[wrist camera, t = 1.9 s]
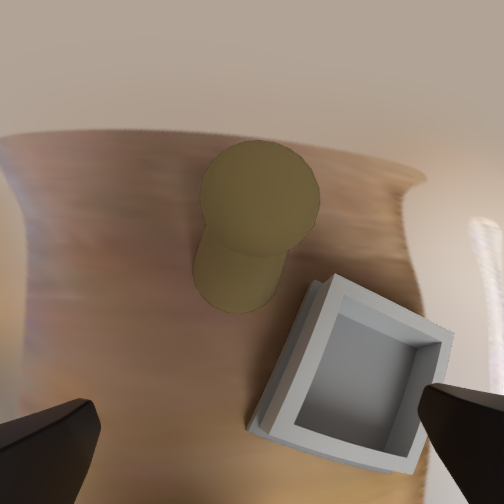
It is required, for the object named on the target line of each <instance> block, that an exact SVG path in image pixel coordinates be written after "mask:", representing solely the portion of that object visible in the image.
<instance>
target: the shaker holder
mask: <svg viewBox="0 0 504 504" xmlns="http://www.w3.org/2000/svg"><path fill="white" fill-rule="evenodd" d="M453 337H454V333H453V332H451V331H449V330H447V329H445V328H443V327H441V326H439V325H437V324H435V323H433V322H431V321H430V320H428V319H426V318H424V317H422V316H420V315H418V314H416V313H414V312H412V311H410V310H408V309H406V308H404V307H402V306H400V305H398V304H396V303H394V302H392V301H390V300H388V299H386V298H384V297H382V296H380V295H378V294H376V293H374V292H372V291H370V290H368V289H366V288H364V287H362V286H360V285H358V284H356V283H354V282H352V281H350V280H347V279H345V278H343V277H341V276H339V275H337V274H335V273H334V274H333V275H332V276H331V277H330V278H329V279H328V280H327V281H326V282H324V283H322V282H319V281H317V280H315V279H313V280H312V281H311V282H310V283H309V286H308V288H307V291H306V293H305V296H304V298H303V301H302V303H301V306H300V308H299V311H298V313H297V316H296V318H295V320H294V323H293V325H292V328H291V330H290V332H289V335H288V337H287V339H286V342H285V344H284V346H283V349H282V351H281V353H280V356H279V358H278V360H277V363H276V365H275V367H274V369H273V372H272V374H271V376H270V378H269V380H268V383H267V385H266V387H265V389H264V391H263V394H262V396H261V398H260V400H259V402H258V404H257V407H256V409H255V411H254V413H253V415H252V417H251V419H250V421H249V423H248V426H247V428H246V431H248V432H250V433H252V434H255V435H257V436H260V437H262V438H265V439H268V440H271V441H273V442H276V443H279V444H282V445H284V446H287V447H290V448H293V449H296V450H299V451H302V452H305V453H308V454H312V455H315V456H318V457H322V458H325V459H328V460H332V461H335V462H339V463H343V464H347V465H350V466H354V467H358V468H363V469H367V470H371V471H376V472H380V473H385V474H390V475H391V473H392V471H396V472H401V473H406V474H413V472H414V470H415V467H416V465H417V462H418V460H419V457H420V454H421V452H422V449H423V446H424V444H425V441H426V438H427V433H426V431H425V429H424V427H423V425H422V423H421V421H420V419H419V417H418V413H417V408H418V404H419V401H420V398H421V395H422V392H423V389H424V387H425V386H426V385H428V384H433V383H442V384H443V382H444V378H445V374H446V370H447V366H448V361H449V357H450V352H451V347H452V342H453Z"/></svg>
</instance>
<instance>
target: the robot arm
mask: <svg viewBox="0 0 504 504" xmlns="http://www.w3.org/2000/svg"><path fill="white" fill-rule="evenodd" d="M417 413H418V417H419V419H420V421H421V423H422V425H423V427H424V429H425V431H426V433H427V435H428V437H429V439H430V441H431V443H432V445H433V447H434V449H435V451H436V452H437V454H438V456H439V457H440V459H441V460H442V462H443V463H444V465H445V467H446V468H447V470H448V471H449V473H450V474H451V476H452V477H453V479H454V481H455V482H456V484H457V485H458V487H459V489H460V490H461V492H462V493H463V495H464V496H465V498H466V500H467V501H468V503H469V504H504V395H498V394H492V393H487V392H481V391H476V390H470V389H466V388H461V387H456V386H451V385H446V384H442V383H433V384H428V385H426V386H425V387H424V389H423V392H422V395H421V398H420V401H419V404H418V408H417ZM100 431H101V423H100V420H99V417H98V414H97V412H96V409H95V406H94V403H93V402H92V401H91V400H88V399H81V398H78V399H75V400H72V401H69V402H66V403H64V404H61V405H58V406H55V407H52V408H49V409H46V410H43V411H40V412H37V413H34V414H31V415H28V416H25V417H22V418H18V419H15V420H12V421H9V422H6V423H2V424H0V504H74V502H75V500H76V497H77V495H78V493H79V491H80V488H81V486H82V484H83V481H84V479H85V477H86V475H87V472H88V470H89V467H90V464H91V461H92V457H93V454H94V451H95V447H96V444H97V441H98V438H99V434H100Z"/></svg>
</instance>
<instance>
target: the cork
mask: <svg viewBox="0 0 504 504" xmlns="http://www.w3.org/2000/svg"><path fill="white" fill-rule="evenodd" d="M200 205H201V209H202V214H203V218H204V220H205V222H206V226H205V229H204V232H203V235H202V238H201V241H200V244H199V247H198V250H197V253H196V256H195V259H194V265H193V277H194V282H195V286H196V288H197V289H198V291H199V293H200V294H201V296H202V297H203V298H204V299H205V300H206V301H207V302H208V303H209V304H211V305H212V306H213V307H215V308H217V309H220V310H222V311H224V312H228V313H238V314H242V313H246V312H251V311H255V310H256V309H258V308H260V307H261V306H263V305H265V304H266V303H267V302H268V301H269V299H270V298H271V297H272V296H273V295H274V293H275V291H276V288H277V285H278V283H279V280H280V276H281V273H282V270H283V267H284V263H285V260H286V256H287V253H288V250H289V249H290V248H292V247H294V246H296V245H297V244H299V243H300V242H301V241H302V240H303V239H304V237H305V236H306V235H307V234H308V233H309V231H310V230H311V229H312V227H313V226H314V224H315V221H316V218H317V215H318V212H319V207H320V191H319V186H318V183H317V181H316V179H315V176H314V174H313V172H312V169H311V168H310V167H309V165H308V164H307V163H306V162H305V161H304V159H303V158H302V157H301V156H299V155H298V154H296V153H295V152H294V151H292V150H291V149H289V148H287V147H284V146H282V145H280V144H277V143H274V142H268V141H261V140H257V141H246V142H242V143H239V144H237V145H234V146H231V147H229V148H228V149H226V150H225V151H224V152H222V153H221V154H220V155H218V156H217V157H216V158H215V159H214V160H213V161H212V163H211V164H210V166H209V168H208V169H207V171H206V173H205V175H204V177H203V179H202V185H201V191H200Z"/></svg>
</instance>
